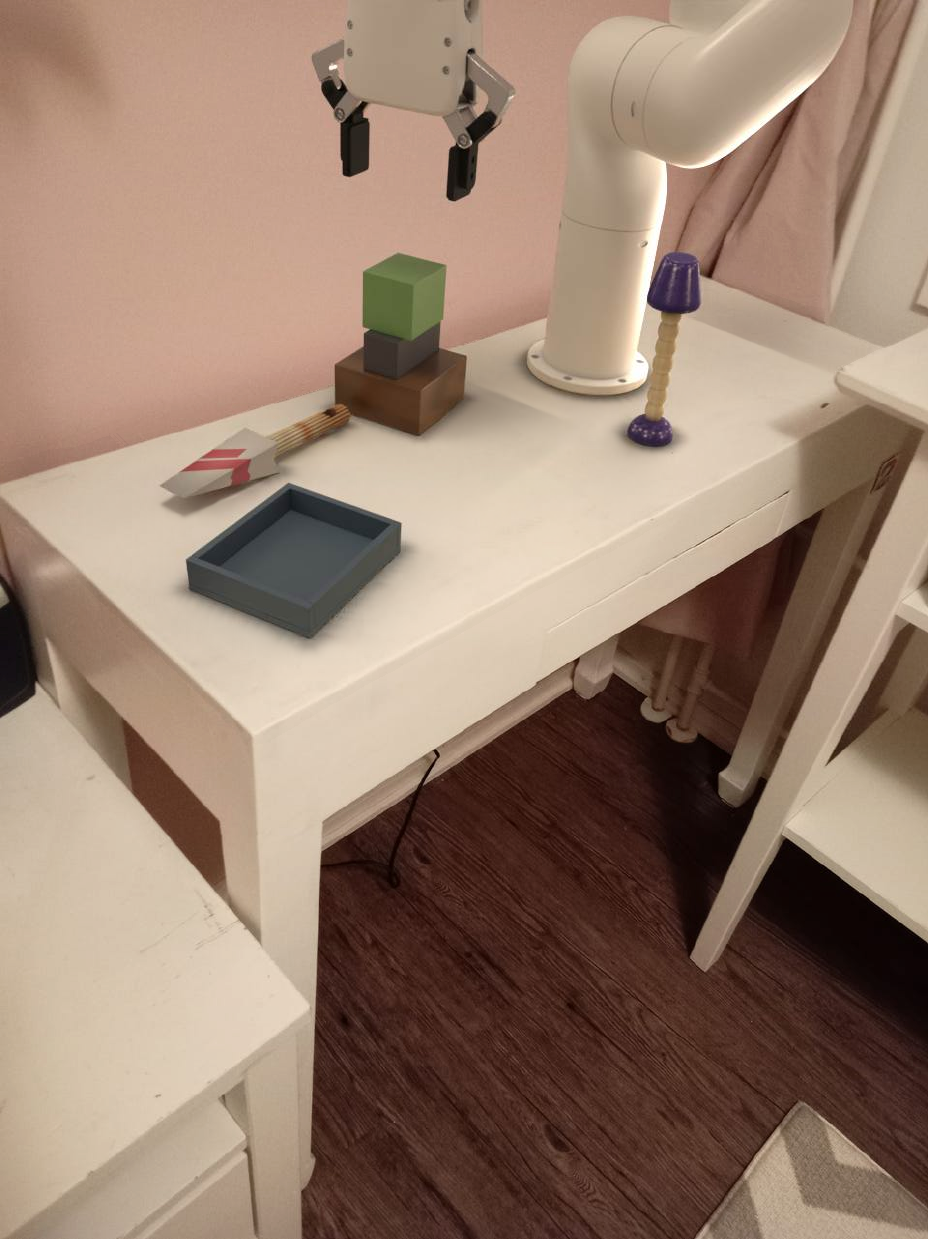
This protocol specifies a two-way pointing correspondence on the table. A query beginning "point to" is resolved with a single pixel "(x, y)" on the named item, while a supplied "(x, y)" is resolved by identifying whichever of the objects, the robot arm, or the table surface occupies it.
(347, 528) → the tray
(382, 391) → the walnut block
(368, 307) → the green block
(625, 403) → the table surface
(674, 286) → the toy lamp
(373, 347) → the charcoal block
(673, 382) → the table surface
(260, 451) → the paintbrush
